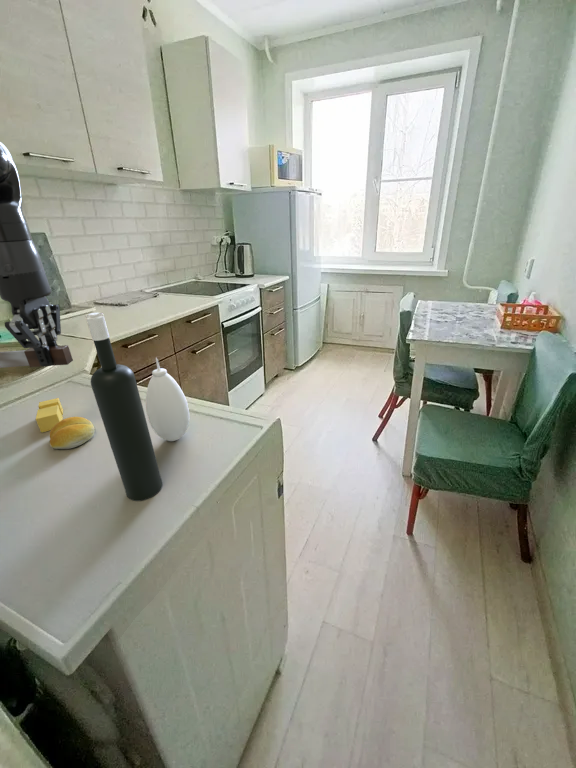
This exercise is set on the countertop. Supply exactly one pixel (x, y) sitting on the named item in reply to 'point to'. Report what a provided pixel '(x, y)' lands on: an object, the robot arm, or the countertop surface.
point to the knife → (35, 357)
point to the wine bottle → (123, 417)
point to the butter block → (48, 418)
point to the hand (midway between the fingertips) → (51, 362)
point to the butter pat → (51, 404)
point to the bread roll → (71, 433)
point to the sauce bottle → (166, 406)
